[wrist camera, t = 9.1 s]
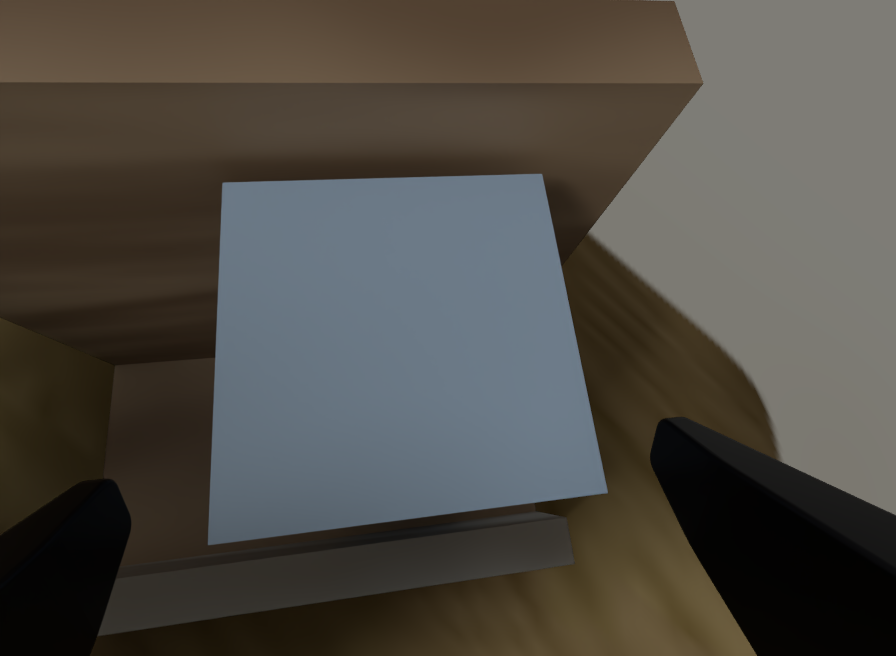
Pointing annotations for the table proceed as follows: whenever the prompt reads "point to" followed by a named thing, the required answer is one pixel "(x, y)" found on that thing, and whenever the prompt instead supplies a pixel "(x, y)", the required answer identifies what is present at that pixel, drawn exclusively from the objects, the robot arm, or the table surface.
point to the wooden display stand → (286, 159)
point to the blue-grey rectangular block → (392, 355)
